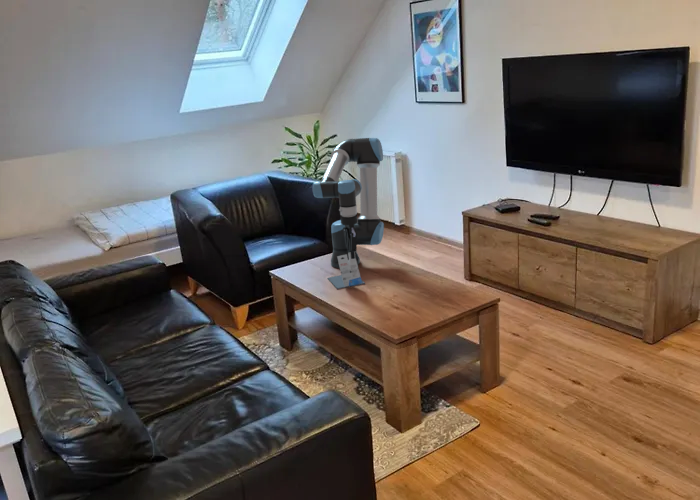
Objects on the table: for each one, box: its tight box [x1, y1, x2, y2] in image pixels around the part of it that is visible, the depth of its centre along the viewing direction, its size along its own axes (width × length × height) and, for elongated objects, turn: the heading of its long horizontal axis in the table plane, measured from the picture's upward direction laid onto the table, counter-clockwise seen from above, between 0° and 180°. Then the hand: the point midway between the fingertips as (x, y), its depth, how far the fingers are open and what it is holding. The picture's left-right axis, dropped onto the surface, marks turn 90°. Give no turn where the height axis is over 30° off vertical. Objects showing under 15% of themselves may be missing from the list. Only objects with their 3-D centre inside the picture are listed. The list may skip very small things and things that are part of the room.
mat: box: [326, 274, 366, 290], centre depth 308 cm, size 16×14×1 cm
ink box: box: [337, 254, 362, 287], centre depth 297 cm, size 8×5×15 cm, turn 39°
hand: (352, 264), depth 292 cm, fingers closed
